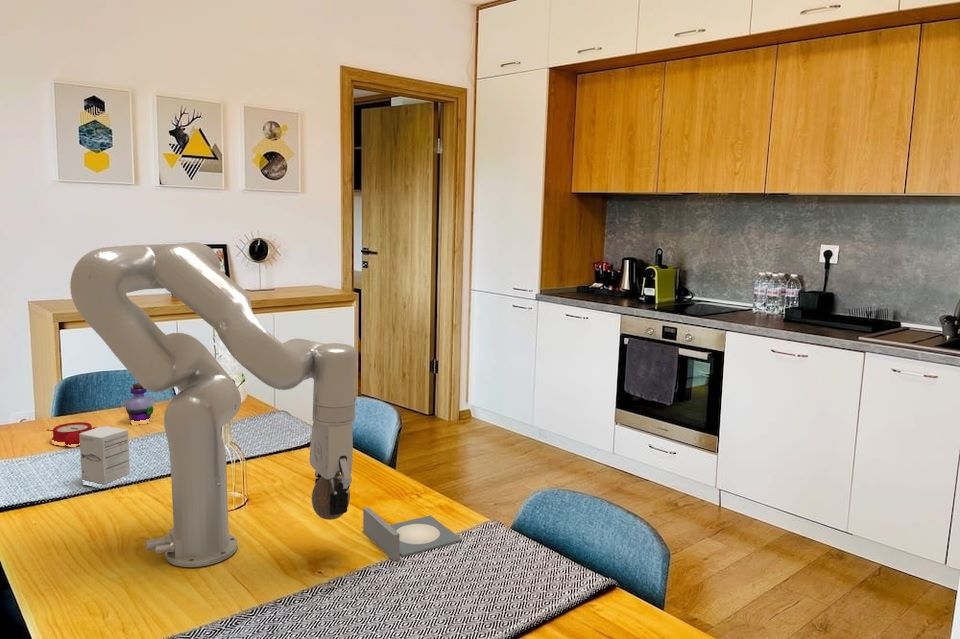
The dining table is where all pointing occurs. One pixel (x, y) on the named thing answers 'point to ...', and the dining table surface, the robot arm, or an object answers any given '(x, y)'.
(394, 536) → the low wall
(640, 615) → the dining table surface
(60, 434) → the alarm clock
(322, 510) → the vase
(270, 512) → the dining table surface
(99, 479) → the supplement box
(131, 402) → the potion bottle
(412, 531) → the mat
